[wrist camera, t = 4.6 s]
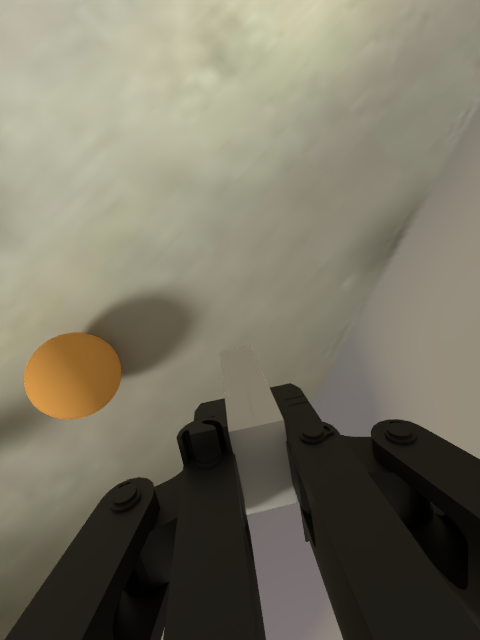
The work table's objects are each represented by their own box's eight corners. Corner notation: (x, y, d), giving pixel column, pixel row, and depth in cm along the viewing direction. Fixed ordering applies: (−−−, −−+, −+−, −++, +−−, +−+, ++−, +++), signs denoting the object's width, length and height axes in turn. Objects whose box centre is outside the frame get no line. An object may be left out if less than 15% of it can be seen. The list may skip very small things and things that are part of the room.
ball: (138, 386, 23) (117, 426, 18) (65, 401, 23) (21, 447, 17) (119, 317, 22) (90, 337, 16) (41, 332, 21) (-14, 358, 16)
